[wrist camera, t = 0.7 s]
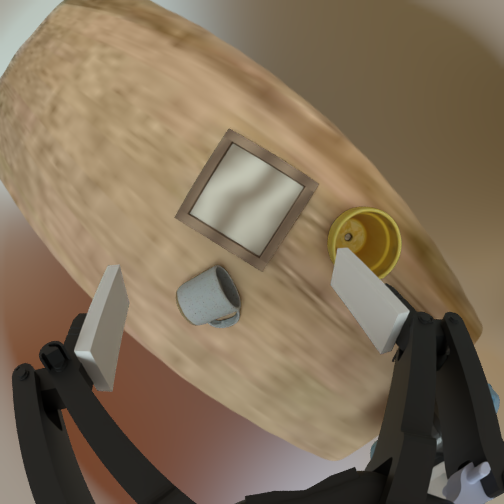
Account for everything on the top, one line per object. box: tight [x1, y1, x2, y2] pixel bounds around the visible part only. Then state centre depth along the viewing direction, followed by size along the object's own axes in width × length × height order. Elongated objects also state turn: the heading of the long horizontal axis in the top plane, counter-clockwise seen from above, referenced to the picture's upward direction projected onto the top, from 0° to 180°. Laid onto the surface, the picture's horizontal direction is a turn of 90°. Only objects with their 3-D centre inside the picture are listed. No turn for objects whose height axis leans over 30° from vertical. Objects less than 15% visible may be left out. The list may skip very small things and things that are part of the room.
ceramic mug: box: [176, 265, 241, 328], centre depth 42 cm, size 11×8×8 cm
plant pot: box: [327, 207, 402, 279], centre depth 39 cm, size 10×10×10 cm
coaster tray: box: [175, 129, 319, 272], centre depth 42 cm, size 16×16×2 cm
